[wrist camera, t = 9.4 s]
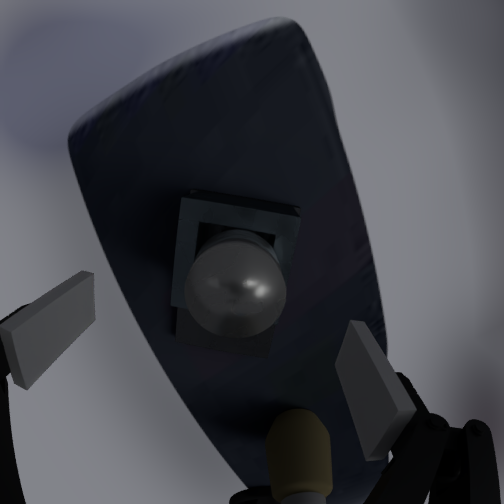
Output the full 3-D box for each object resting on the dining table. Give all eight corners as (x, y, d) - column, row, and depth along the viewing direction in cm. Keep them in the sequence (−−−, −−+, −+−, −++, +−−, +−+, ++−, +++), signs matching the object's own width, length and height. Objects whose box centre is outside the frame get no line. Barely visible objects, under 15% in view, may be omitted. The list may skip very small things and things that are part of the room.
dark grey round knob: (265, 279, 29) (276, 342, 19) (202, 271, 28) (181, 331, 18) (276, 217, 27) (295, 254, 17) (209, 208, 27) (188, 239, 17)
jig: (267, 352, 32) (268, 395, 25) (178, 335, 32) (159, 375, 25) (299, 206, 28) (311, 219, 21) (193, 188, 28) (171, 195, 21)
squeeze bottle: (269, 442, 37) (270, 552, 19) (260, 406, 35) (256, 532, 17) (326, 434, 36) (346, 542, 19) (324, 396, 34) (350, 520, 17)
